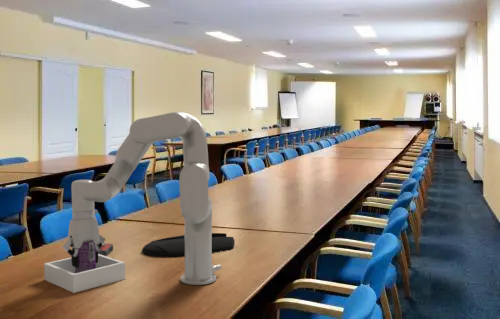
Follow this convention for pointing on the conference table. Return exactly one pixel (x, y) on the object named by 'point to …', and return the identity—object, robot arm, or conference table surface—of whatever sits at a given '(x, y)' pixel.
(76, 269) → the beverage can
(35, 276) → the conference table surface
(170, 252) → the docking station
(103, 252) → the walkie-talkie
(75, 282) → the walled box
